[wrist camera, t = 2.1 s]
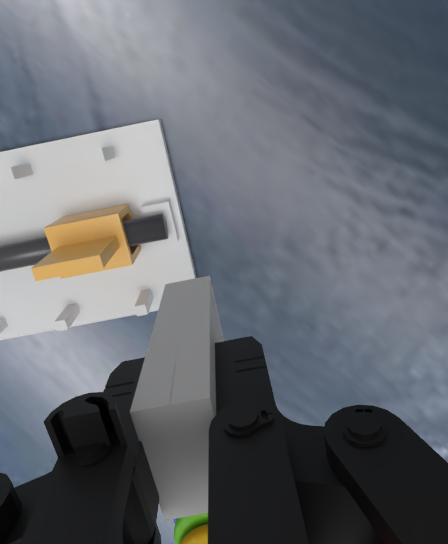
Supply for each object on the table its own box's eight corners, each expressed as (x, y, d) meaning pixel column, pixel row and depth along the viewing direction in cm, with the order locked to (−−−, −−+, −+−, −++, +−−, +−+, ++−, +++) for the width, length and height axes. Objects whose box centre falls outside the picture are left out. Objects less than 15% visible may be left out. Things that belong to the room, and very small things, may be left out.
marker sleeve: (128, 203, 31) (100, 229, 23) (140, 250, 32) (118, 288, 24) (61, 217, 31) (13, 246, 23) (76, 262, 32) (35, 304, 25)
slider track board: (160, 119, 30) (149, 118, 25) (201, 296, 35) (199, 327, 29) (-183, 190, 31) (-263, 203, 26) (-99, 353, 36) (-153, 392, 31)
